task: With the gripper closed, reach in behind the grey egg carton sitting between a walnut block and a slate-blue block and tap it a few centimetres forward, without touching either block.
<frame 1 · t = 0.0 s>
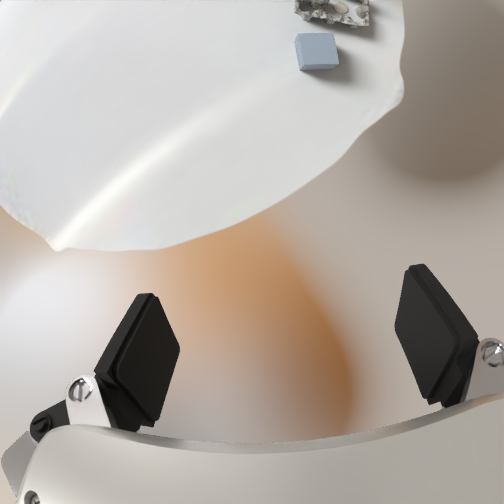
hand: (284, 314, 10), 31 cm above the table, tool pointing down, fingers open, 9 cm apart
slate-blue block: (313, 55, 29), on the table
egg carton: (329, 7, 25), on the table
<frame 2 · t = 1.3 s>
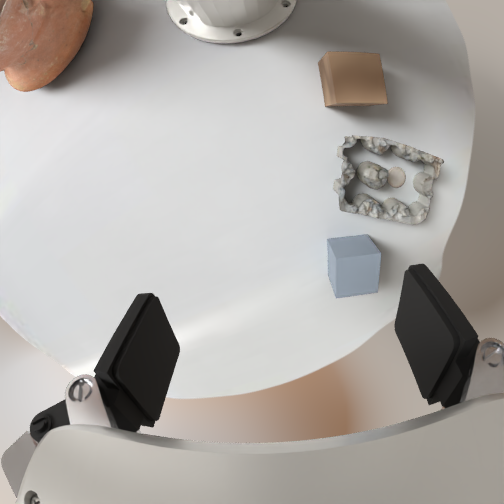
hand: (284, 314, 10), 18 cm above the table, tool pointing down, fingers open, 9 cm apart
walnut block: (344, 83, 21), on the table
slate-blue block: (347, 255, 29), on the table
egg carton: (380, 175, 25), on the table
ceramic jug: (55, 40, 18), on the table
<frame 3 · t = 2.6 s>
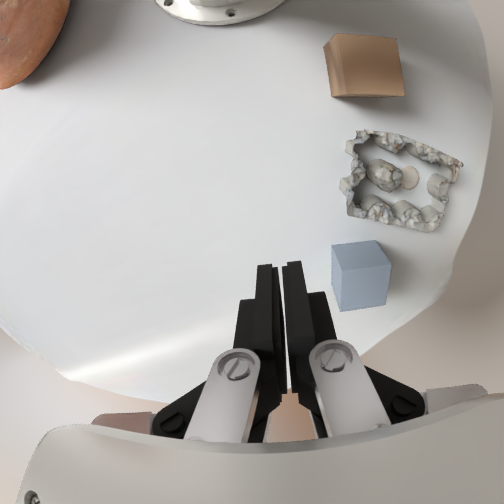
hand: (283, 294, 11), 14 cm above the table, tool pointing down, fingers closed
walnut block: (353, 71, 17), on the table
slate-blue block: (352, 262, 26), on the table
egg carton: (391, 175, 22), on the table
ceramic jug: (33, 32, 14), on the table
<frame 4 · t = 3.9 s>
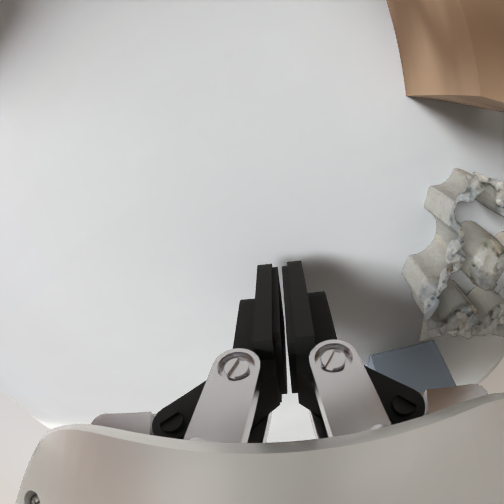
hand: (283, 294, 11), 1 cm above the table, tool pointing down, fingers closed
walnut block: (440, 52, 6), on the table
slate-blue block: (395, 368, 15), on the table
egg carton: (478, 244, 11), on the table
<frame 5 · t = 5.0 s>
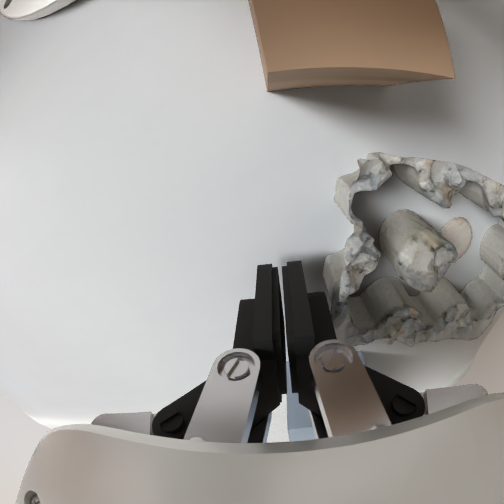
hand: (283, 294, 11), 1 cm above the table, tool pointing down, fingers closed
walnut block: (318, 32, 7), on the table
slate-blue block: (323, 377, 15), on the table
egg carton: (426, 237, 11), on the table, touching gripper
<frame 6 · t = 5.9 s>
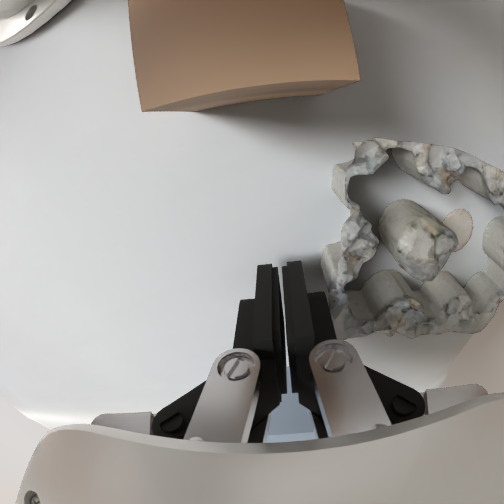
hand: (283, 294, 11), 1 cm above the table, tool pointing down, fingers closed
walnut block: (247, 44, 7), on the table
slate-blue block: (277, 387, 16), on the table
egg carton: (426, 227, 11), on the table, touching gripper
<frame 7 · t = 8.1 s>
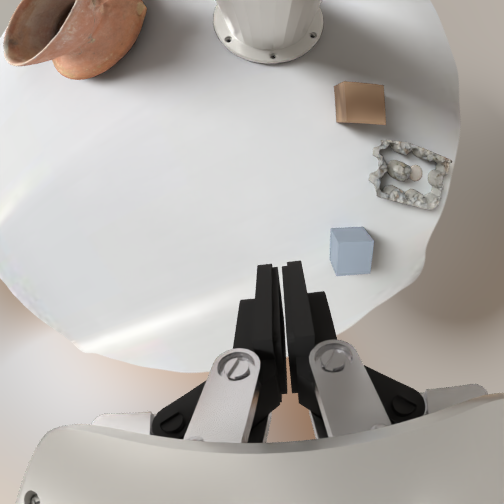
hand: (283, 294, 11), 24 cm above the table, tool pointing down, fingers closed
walnut block: (353, 105, 27), on the table
slate-blue block: (346, 242, 35), on the table
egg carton: (403, 171, 30), on the table
ceramic jug: (102, 35, 23), on the table
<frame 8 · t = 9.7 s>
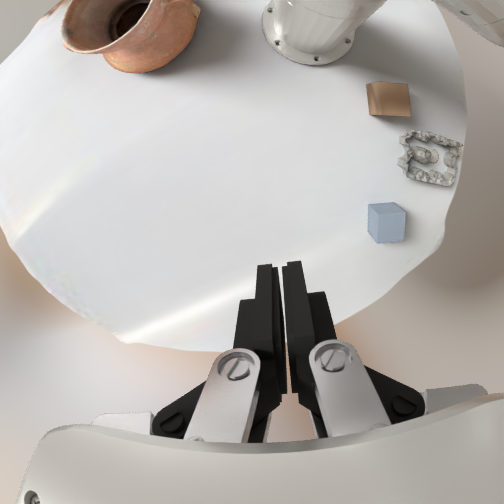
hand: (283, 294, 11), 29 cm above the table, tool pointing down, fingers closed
walnut block: (381, 100, 31), on the table
slate-blue block: (380, 216, 39), on the table
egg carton: (423, 155, 34), on the table
ceramic jug: (150, 33, 27), on the table
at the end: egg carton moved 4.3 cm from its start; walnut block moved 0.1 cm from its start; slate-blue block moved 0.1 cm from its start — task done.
